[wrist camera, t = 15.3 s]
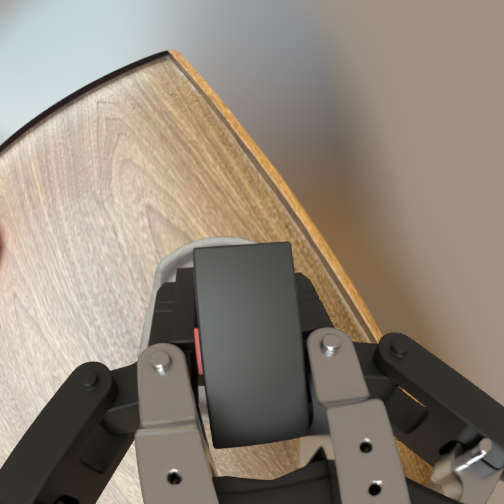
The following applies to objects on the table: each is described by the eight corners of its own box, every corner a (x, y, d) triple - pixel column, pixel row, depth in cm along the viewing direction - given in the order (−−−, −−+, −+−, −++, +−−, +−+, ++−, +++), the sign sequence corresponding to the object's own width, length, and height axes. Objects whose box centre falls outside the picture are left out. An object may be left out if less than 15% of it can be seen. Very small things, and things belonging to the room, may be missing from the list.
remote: (252, 284, 15) (291, 240, 7) (262, 378, 13) (311, 436, 6) (203, 288, 14) (185, 247, 6) (212, 383, 13) (207, 450, 5)
